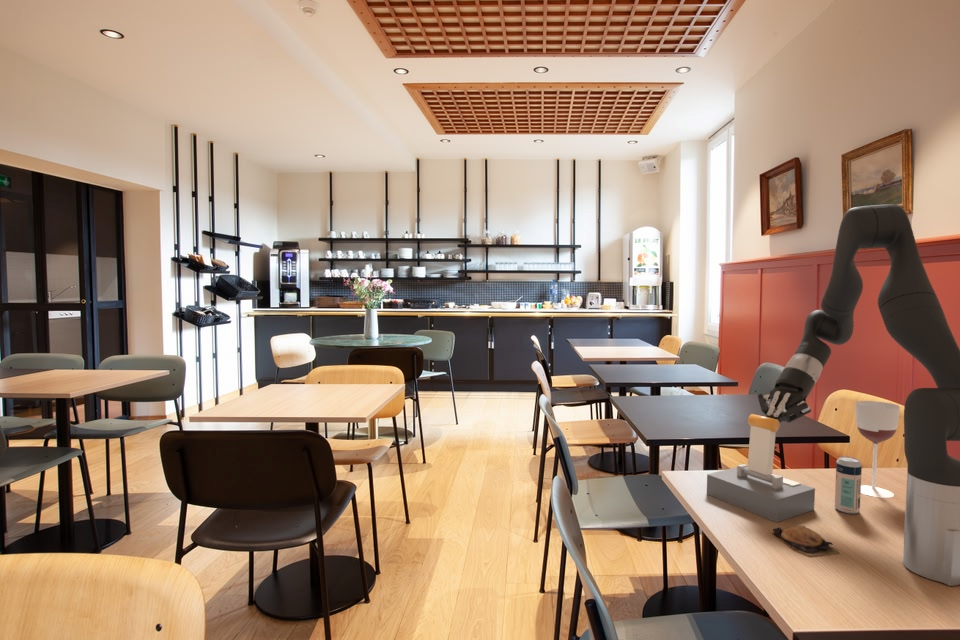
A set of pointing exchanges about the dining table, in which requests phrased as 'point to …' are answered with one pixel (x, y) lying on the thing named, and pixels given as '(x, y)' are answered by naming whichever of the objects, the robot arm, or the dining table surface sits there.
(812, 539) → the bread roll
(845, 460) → the beer can
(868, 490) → the wineglass
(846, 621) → the dining table surface
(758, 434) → the breaker lever
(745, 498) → the block
